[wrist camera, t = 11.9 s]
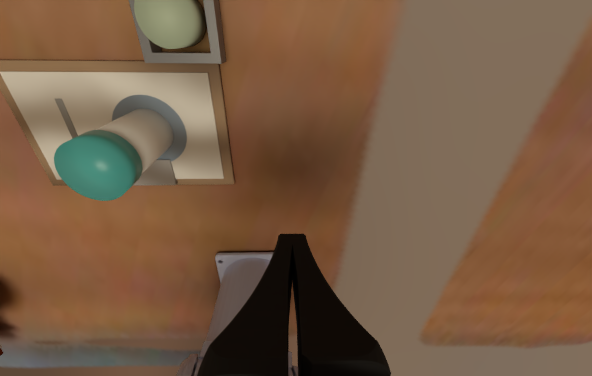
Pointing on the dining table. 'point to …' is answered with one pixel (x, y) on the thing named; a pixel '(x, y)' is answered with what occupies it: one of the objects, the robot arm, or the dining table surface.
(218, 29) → the button housing
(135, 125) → the marker
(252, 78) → the dining table surface
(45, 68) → the clipboard
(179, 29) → the button
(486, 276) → the dining table surface
